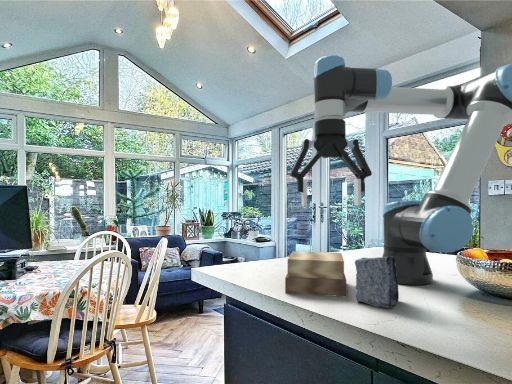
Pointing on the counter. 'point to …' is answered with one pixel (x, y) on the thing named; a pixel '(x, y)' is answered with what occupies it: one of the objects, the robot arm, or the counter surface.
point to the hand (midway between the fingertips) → (331, 205)
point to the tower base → (315, 286)
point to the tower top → (316, 265)
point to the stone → (377, 281)
